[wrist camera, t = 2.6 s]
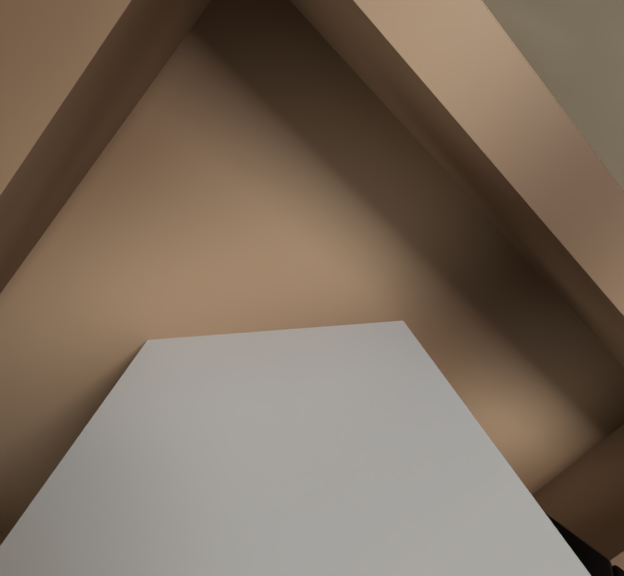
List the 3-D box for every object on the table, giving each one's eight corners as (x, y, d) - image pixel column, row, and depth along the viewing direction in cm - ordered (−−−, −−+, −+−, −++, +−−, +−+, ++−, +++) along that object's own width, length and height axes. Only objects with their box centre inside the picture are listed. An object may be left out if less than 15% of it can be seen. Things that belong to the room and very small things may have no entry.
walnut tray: (686, 380, 9) (820, 455, 7) (307, 673, 12) (313, 797, 10) (239, -148, 6) (209, -368, 3) (-169, 456, 8) (-346, 576, 6)
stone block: (403, 320, 8) (601, 588, 3) (396, 508, 9) (515, 871, 5) (147, 340, 7) (-91, 672, 3) (187, 529, 9) (86, 941, 4)
